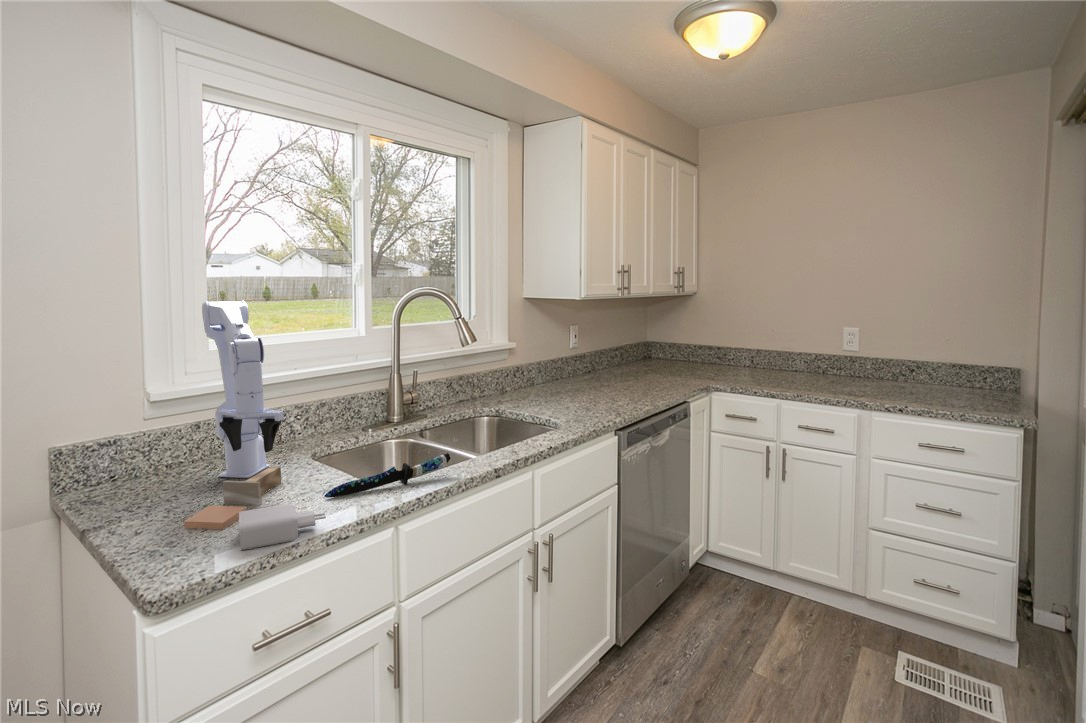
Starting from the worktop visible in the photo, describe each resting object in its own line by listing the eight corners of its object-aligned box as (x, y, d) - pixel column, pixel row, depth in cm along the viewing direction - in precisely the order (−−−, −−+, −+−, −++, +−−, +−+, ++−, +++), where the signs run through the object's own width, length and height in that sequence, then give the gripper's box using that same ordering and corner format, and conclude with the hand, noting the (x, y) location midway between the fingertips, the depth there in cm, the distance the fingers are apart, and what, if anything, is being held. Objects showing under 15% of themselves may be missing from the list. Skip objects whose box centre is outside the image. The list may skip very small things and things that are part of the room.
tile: (210, 505, 121) (183, 521, 114) (246, 506, 121) (222, 522, 113) (210, 513, 122) (184, 529, 114) (247, 514, 121) (223, 531, 113)
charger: (329, 536, 111) (240, 553, 104) (322, 518, 119) (240, 533, 112) (328, 512, 110) (238, 527, 103) (321, 496, 118) (238, 509, 111)
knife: (450, 468, 146) (448, 451, 145) (454, 471, 144) (452, 454, 143) (324, 503, 131) (320, 485, 131) (326, 508, 129) (323, 489, 128)
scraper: (260, 482, 140) (259, 461, 139) (292, 483, 139) (291, 462, 138) (224, 503, 126) (222, 481, 125) (259, 505, 125) (257, 483, 125)
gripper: (206, 394, 128) (211, 454, 130) (269, 396, 126) (273, 456, 128) (227, 388, 135) (231, 445, 136) (286, 390, 133) (290, 447, 135)
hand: (252, 450), depth 133 cm, fingers open, 7 cm apart
